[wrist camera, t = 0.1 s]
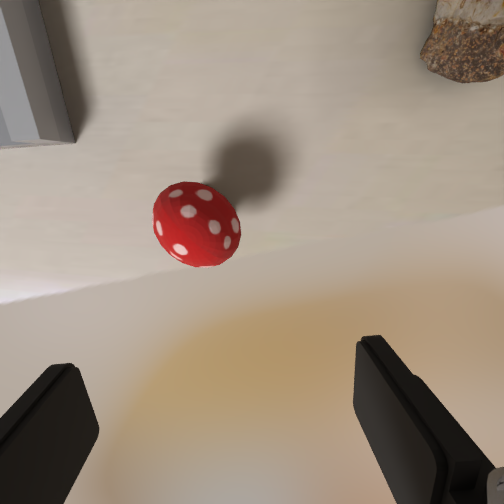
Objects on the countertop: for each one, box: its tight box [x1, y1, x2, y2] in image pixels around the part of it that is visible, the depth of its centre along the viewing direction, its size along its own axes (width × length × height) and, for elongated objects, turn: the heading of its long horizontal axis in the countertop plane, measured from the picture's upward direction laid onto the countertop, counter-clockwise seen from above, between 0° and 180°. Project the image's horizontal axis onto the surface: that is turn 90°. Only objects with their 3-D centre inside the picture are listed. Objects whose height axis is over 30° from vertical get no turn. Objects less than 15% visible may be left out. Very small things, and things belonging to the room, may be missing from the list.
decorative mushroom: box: [152, 182, 241, 268], centre depth 31 cm, size 10×9×15 cm
